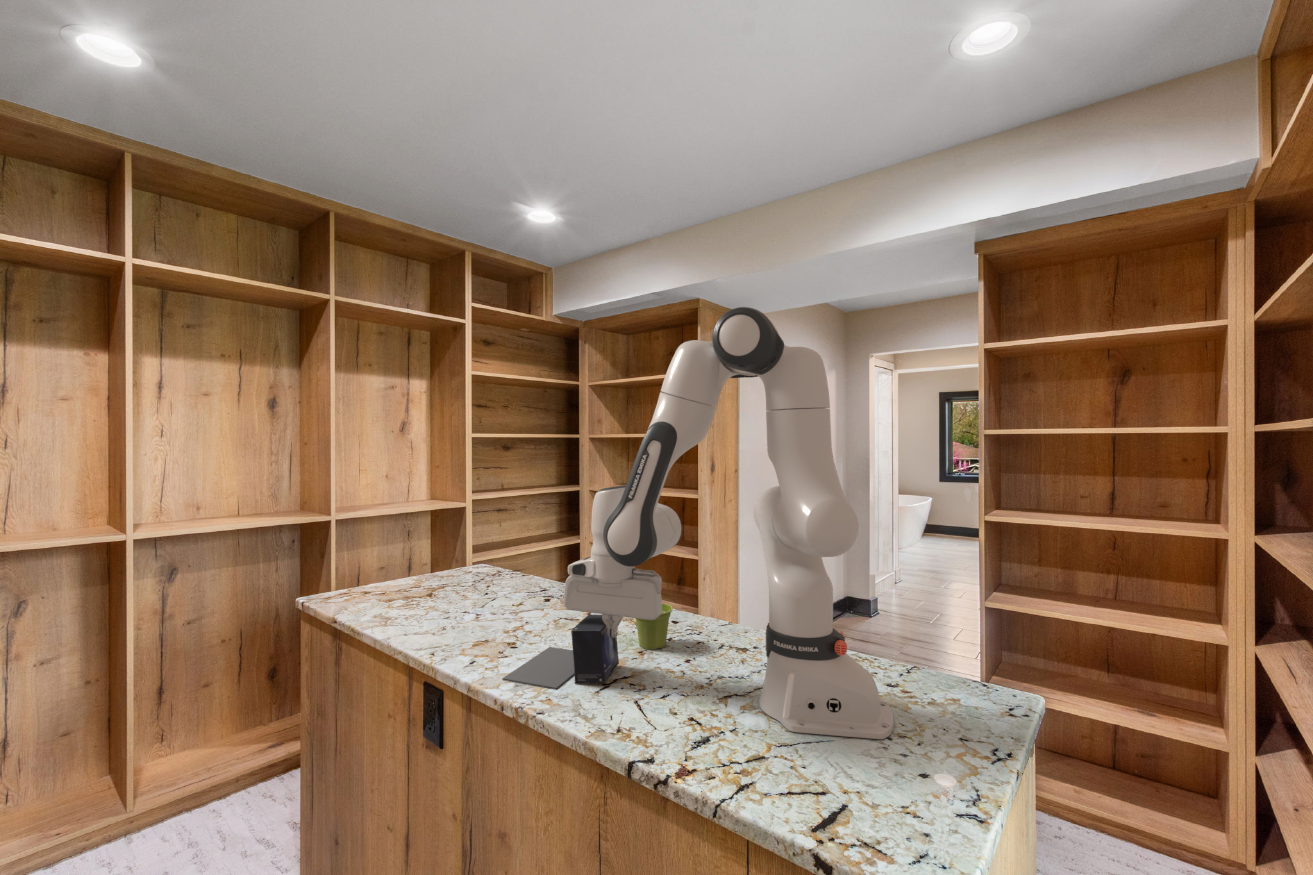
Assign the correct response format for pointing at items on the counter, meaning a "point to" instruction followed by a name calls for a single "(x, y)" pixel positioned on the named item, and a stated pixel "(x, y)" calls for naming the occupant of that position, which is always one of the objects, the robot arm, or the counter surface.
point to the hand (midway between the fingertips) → (611, 636)
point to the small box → (593, 651)
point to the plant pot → (654, 629)
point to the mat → (545, 669)
